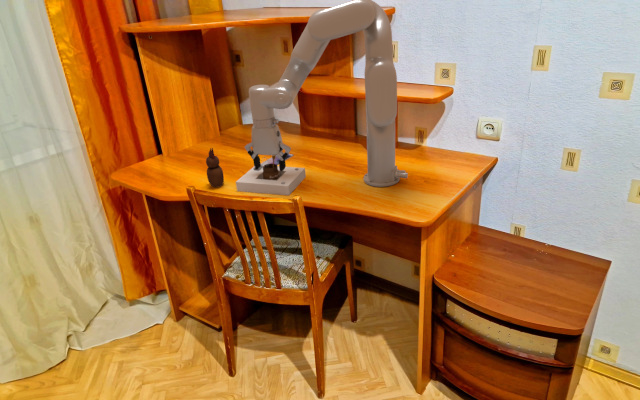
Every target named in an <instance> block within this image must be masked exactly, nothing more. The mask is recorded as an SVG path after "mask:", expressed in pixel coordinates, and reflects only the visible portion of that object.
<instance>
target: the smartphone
mask: <svg viewBox="0 0 640 400" xmlns="http://www.w3.org/2000/svg"><path fill="white" fill-rule="evenodd" d="M292 157H294V154H293V153H289V154H288V156H287V157H286V158H285V162H286V161H287V160H289V159H290V158H292ZM279 160H280V159H279V158H278V157H277V156H276V159H274V164H276V165H277V166H279ZM265 161H266V162H265ZM265 161H262V162H260V164H261V165H266V164H273V158H272V157H269V158H268V159H265ZM267 161H268V162H267ZM262 163H263V164H262Z"/></svg>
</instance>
